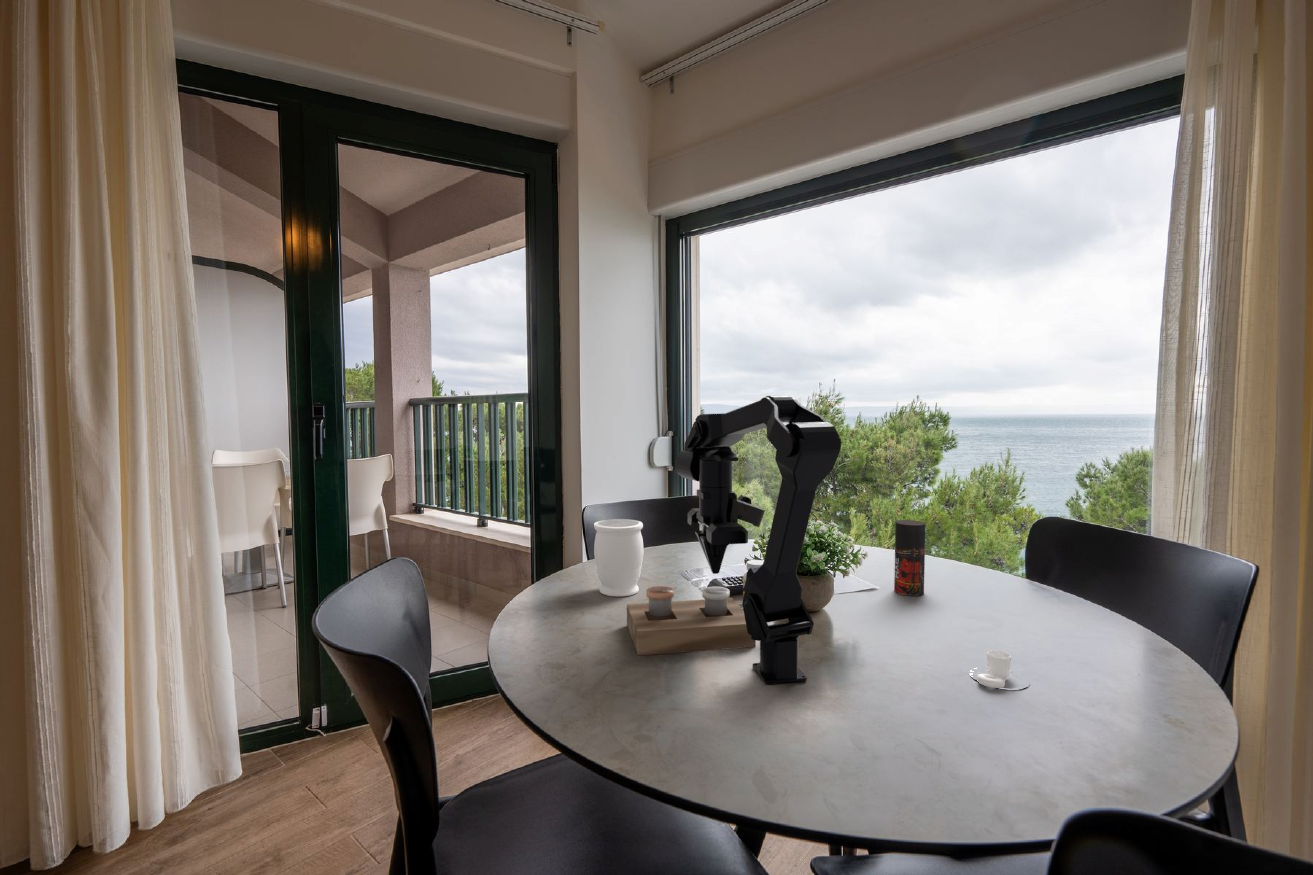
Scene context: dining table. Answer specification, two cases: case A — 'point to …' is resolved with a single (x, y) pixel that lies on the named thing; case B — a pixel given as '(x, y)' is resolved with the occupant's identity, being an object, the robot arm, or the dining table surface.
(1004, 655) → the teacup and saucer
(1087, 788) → the dining table surface
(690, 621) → the wooden socket block
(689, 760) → the dining table surface
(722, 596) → the plug
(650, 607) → the plug
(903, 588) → the deodorant
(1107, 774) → the dining table surface
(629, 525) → the jar
